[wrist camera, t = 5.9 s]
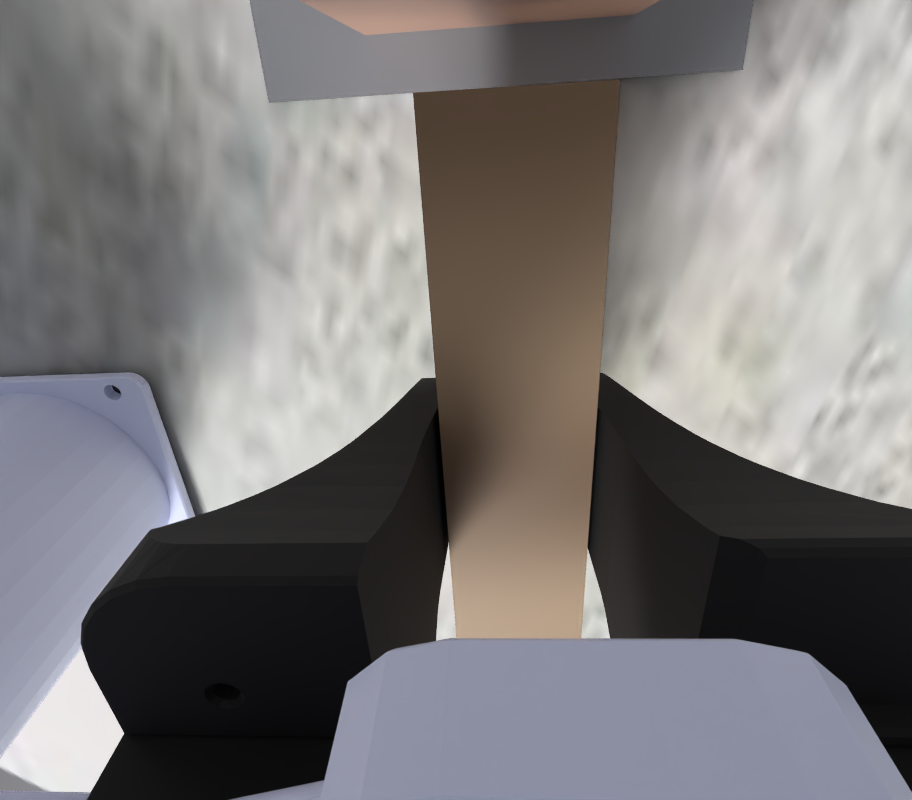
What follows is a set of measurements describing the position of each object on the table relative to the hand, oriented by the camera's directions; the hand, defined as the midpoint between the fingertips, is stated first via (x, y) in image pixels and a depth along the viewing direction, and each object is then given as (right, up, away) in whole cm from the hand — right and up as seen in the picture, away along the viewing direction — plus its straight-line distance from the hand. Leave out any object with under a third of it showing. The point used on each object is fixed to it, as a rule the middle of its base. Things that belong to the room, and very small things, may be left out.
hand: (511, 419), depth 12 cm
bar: (0, +1, +2) cm, 2 cm away
